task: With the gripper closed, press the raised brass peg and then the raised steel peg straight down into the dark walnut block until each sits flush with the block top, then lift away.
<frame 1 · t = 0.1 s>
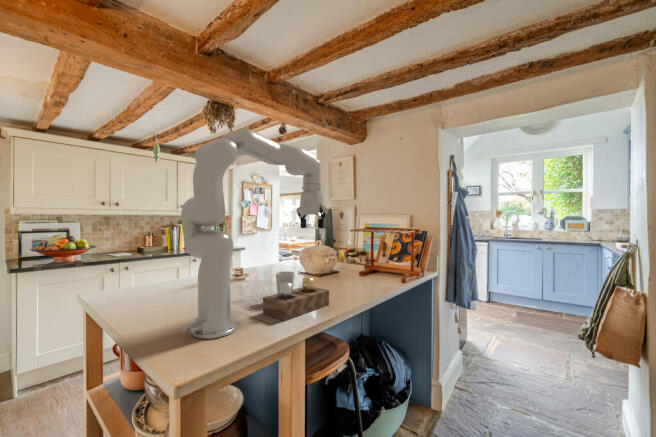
hand: (311, 228, 126), 31 cm above the table, tool pointing down, fingers open, 9 cm apart
brass peg: (308, 285, 118), point 8 cm above the table, slide at 5.0 cm
cup: (285, 301, 124), on the table
steel peg: (286, 291, 109), point 8 cm above the table, slide at 5.0 cm
walnut block: (297, 309, 114), on the table
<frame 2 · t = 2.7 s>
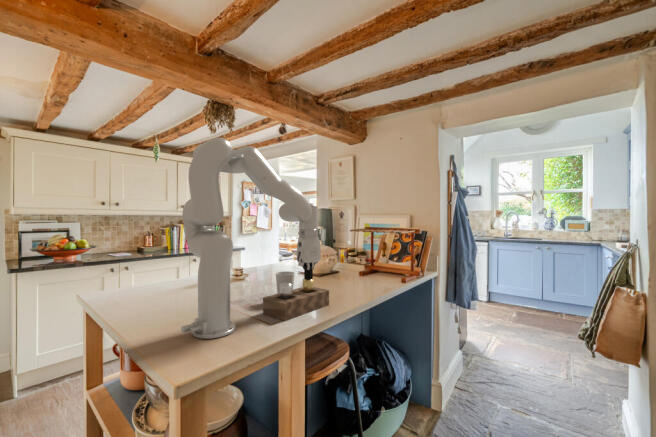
hand: (308, 279, 118), 11 cm above the table, tool pointing down, fingers closed
brass peg: (308, 286, 118), point 8 cm above the table, slide at 4.6 cm, touching gripper
everything else where it was.
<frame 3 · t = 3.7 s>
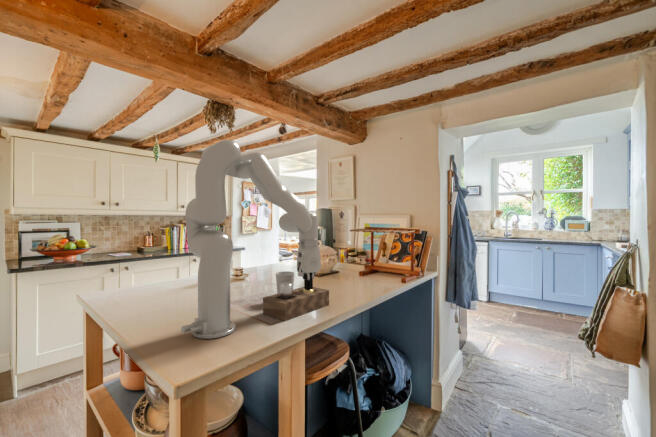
hand: (308, 289, 118), 7 cm above the table, tool pointing down, fingers closed
brass peg: (308, 296, 118), point 4 cm above the table, slide at 0.6 cm, touching gripper
everything else where it was.
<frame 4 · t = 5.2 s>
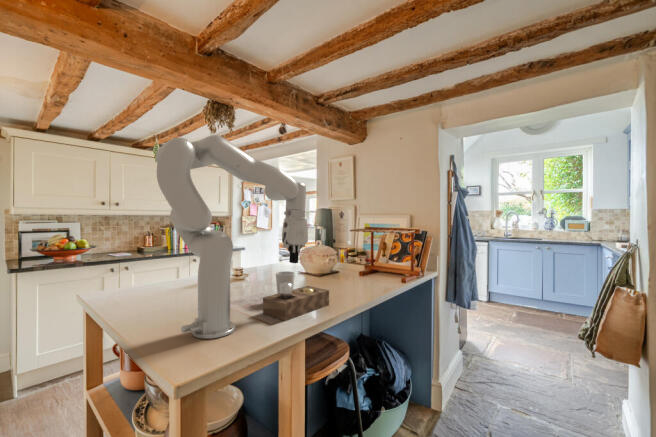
hand: (293, 262, 112), 18 cm above the table, tool pointing down, fingers closed
brass peg: (308, 296, 118), point 4 cm above the table, slide at 0.6 cm
everything else where it was.
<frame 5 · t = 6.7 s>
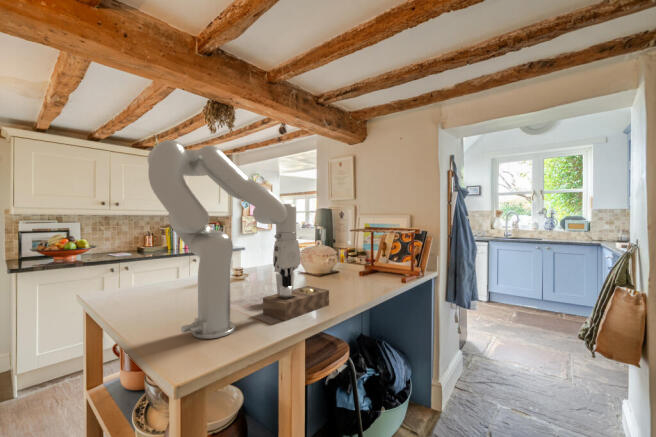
hand: (286, 285, 109), 10 cm above the table, tool pointing down, fingers closed
steel peg: (286, 293, 109), point 7 cm above the table, slide at 4.0 cm, touching gripper
everything else where it was.
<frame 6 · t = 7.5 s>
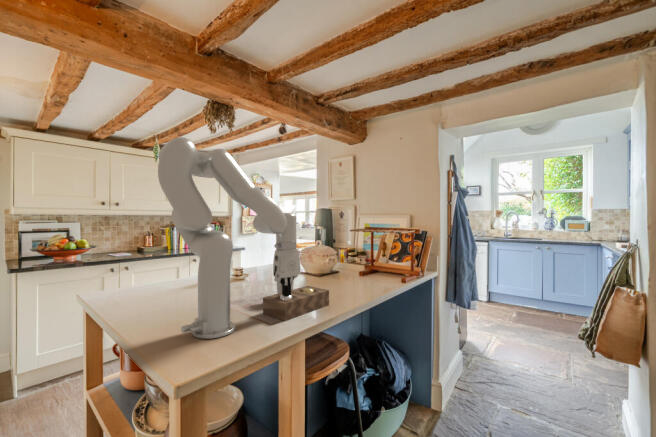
hand: (286, 295, 109), 7 cm above the table, tool pointing down, fingers closed
steel peg: (286, 303, 109), point 4 cm above the table, slide at 0.7 cm, touching gripper
everything else where it was.
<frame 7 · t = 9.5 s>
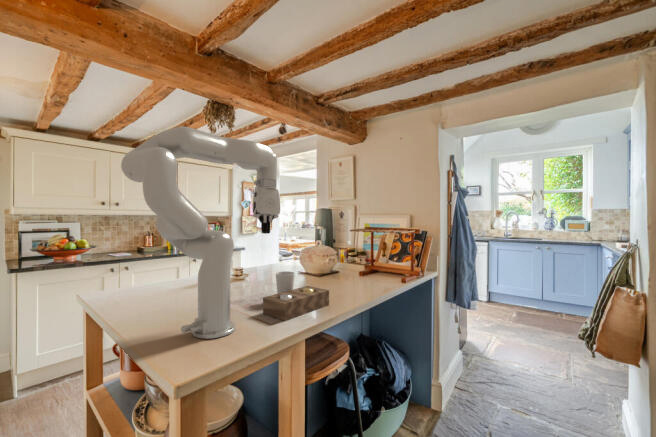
hand: (265, 233, 111), 30 cm above the table, tool pointing down, fingers closed
steel peg: (286, 303, 109), point 4 cm above the table, slide at 0.6 cm
everything else where it was.
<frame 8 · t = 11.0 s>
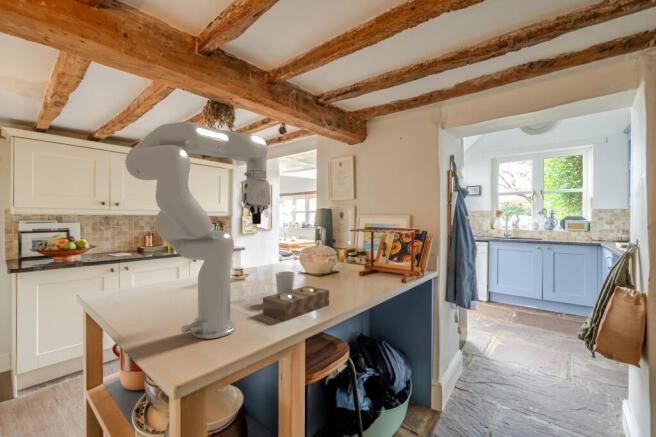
hand: (256, 223, 114), 33 cm above the table, tool pointing down, fingers closed
nothing on the table moved.
at the end: steel peg slide at 0.6 cm; brass peg slide at 0.6 cm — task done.
